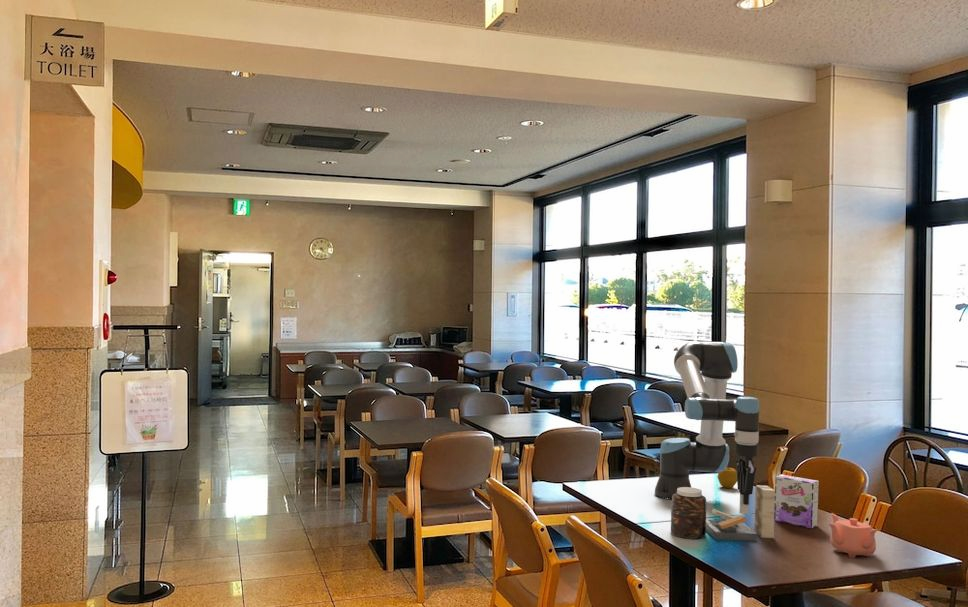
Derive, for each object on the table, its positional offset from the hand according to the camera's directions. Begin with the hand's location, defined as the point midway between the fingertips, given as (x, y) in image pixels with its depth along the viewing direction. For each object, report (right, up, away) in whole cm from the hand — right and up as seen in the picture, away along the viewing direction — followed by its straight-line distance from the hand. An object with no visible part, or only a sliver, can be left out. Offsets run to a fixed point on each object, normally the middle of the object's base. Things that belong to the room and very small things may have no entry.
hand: (744, 513), depth 259 cm
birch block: (+8, -8, +4) cm, 12 cm away
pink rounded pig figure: (+29, -9, -14) cm, 33 cm away
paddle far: (-4, -3, +7) cm, 9 cm away
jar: (-19, -8, +1) cm, 20 cm away
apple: (+18, -9, +74) cm, 76 cm away
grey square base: (-4, -8, +3) cm, 10 cm away
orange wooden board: (-4, -3, 0) cm, 5 cm away
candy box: (+25, -9, +20) cm, 33 cm away
